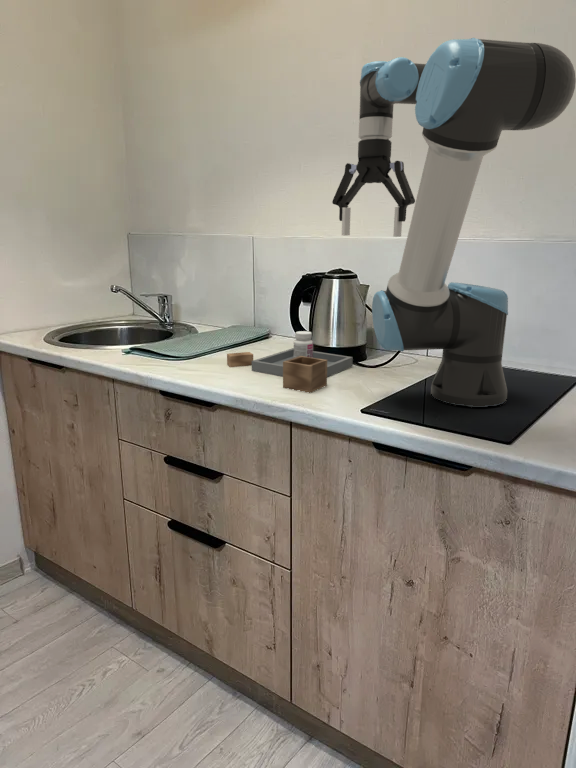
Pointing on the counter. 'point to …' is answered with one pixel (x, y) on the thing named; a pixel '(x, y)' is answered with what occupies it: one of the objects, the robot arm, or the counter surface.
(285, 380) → the walnut box
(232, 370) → the counter surface
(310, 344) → the pill bottle
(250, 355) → the stained block
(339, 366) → the tray
